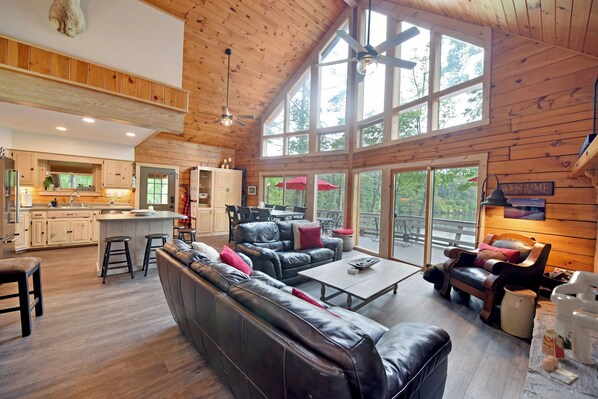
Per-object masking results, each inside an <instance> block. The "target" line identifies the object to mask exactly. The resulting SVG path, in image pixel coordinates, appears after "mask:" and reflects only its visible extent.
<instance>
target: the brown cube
mask: <svg viewBox="0 0 598 399" xmlns="http://www.w3.org/2000/svg"><path fill="white" fill-rule="evenodd" d="M566 339H567V338H566ZM567 340H569V339H567ZM564 342H565V340H564V338H563V337H557V336H556V345H558V346H559V347H560V348H562V349H564ZM564 350H565V349H564ZM571 350H572V344H571Z"/></svg>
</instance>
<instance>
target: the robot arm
mask: <svg viewBox="0 0 598 399" xmlns="http://www.w3.org/2000/svg"><path fill="white" fill-rule="evenodd" d="M590 286H592V287H596V288H598V273H597V272H590V271H584V270H576V271H574V272H573V273H572V275H571V277H570V278H569V281H568V282H567V283H563V284H560V285H557V286H555V287H554V288H553V289H552V293H551V294H550V301H551V303H553V304H554V305H556V306H555V318H554V324H553V328H554V331H555V332H556V333H557V337H563V338H564V340H565V342H564V350H569V351H568V352H567V353H566V356H567V357H568V358H569V359H571V360H573V361H575V362H578V363H581V364H585V365H592V366H593V365H595V364H596V363H595V362H596V361H595V360H594V359H593V358H592V335H591V334H592V333H590V331H593V332H596V333H598V300H596V296H597V294H596V292H595V291H594V290H593V288H592V287H590ZM572 294H573V295H575V294H576V297H575V296H573V295H572ZM577 310H578V311H577ZM589 330H590V331H589ZM566 338H567V339H568V340H567V339H566ZM571 344H572V350H571Z"/></svg>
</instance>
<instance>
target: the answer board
mask: <svg viewBox="0 0 598 399" xmlns="http://www.w3.org/2000/svg"><path fill="white" fill-rule="evenodd" d="M549 376H550V377H552V378H554V379H555V380H558V381H560V382H563V383H564V384H566V383H567V384H566V385H570V384H571V383H572V382H573V381H574V380H576V379H578V378H579V376H578V374H575V373H574V372H573V373H572V372H570V371H569V370H567V369H564V368H561V367H558V369H557V370H556V369H554V372H550V373H549ZM571 381H572V382H571ZM570 382H571V383H570Z"/></svg>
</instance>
